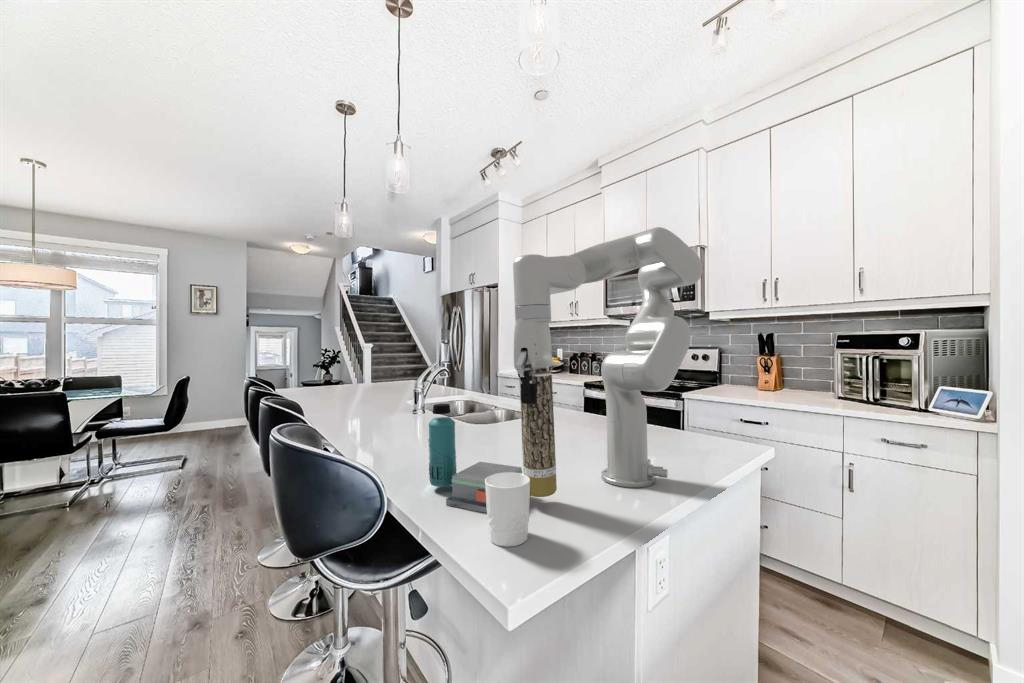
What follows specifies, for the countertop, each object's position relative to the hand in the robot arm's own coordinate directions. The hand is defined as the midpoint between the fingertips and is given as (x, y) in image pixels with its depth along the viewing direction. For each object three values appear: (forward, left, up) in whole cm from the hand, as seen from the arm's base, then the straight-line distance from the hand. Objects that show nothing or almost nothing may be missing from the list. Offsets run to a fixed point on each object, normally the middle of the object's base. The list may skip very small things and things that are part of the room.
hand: (536, 399), depth 81 cm
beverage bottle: (+24, +1, -22) cm, 33 cm away
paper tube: (0, 0, -20) cm, 20 cm away
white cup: (-1, +15, -22) cm, 27 cm away
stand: (+11, +2, -22) cm, 25 cm away
